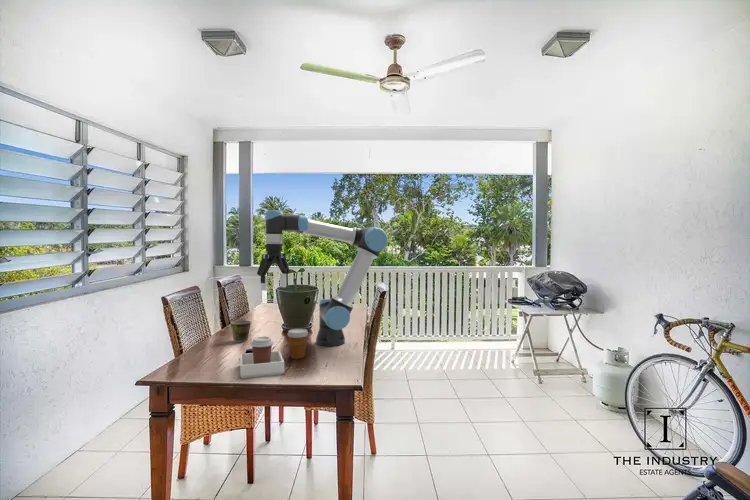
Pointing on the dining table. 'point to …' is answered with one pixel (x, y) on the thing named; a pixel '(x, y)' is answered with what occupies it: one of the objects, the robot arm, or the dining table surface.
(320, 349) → the dining table surface
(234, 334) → the ceramic cup
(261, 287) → the robot arm
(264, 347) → the coffee cup
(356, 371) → the dining table surface
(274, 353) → the box
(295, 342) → the disposable coffee cup
